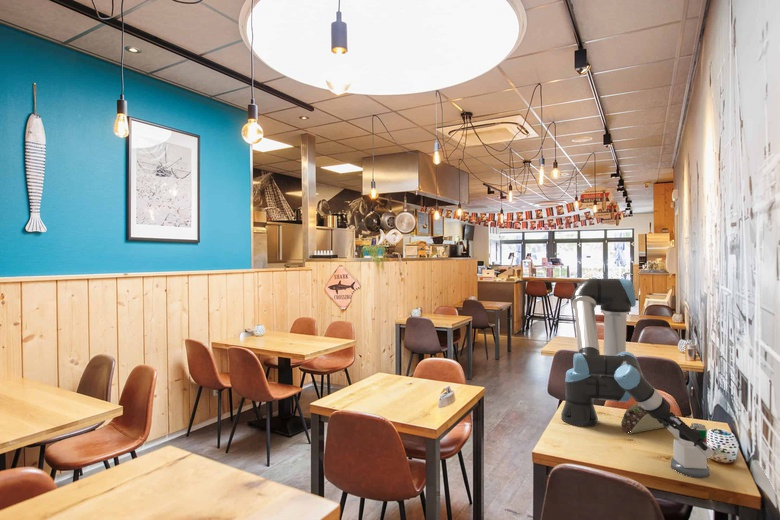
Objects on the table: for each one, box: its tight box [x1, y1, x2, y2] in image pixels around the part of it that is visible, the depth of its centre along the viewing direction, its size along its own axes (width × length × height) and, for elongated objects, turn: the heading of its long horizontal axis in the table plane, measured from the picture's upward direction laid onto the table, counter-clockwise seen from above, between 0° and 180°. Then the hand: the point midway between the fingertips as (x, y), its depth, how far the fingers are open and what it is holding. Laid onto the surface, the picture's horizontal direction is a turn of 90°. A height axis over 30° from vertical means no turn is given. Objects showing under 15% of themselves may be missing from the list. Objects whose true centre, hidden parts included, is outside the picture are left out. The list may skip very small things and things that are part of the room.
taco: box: [620, 403, 666, 435], centre depth 187 cm, size 10×27×10 cm, turn 111°
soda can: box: [689, 422, 708, 446], centre depth 160 cm, size 5×5×12 cm
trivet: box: [670, 457, 711, 479], centre depth 150 cm, size 11×11×2 cm
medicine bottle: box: [673, 428, 708, 469], centre depth 151 cm, size 7×7×12 cm
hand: (695, 446), depth 151 cm, fingers open, 13 cm apart
